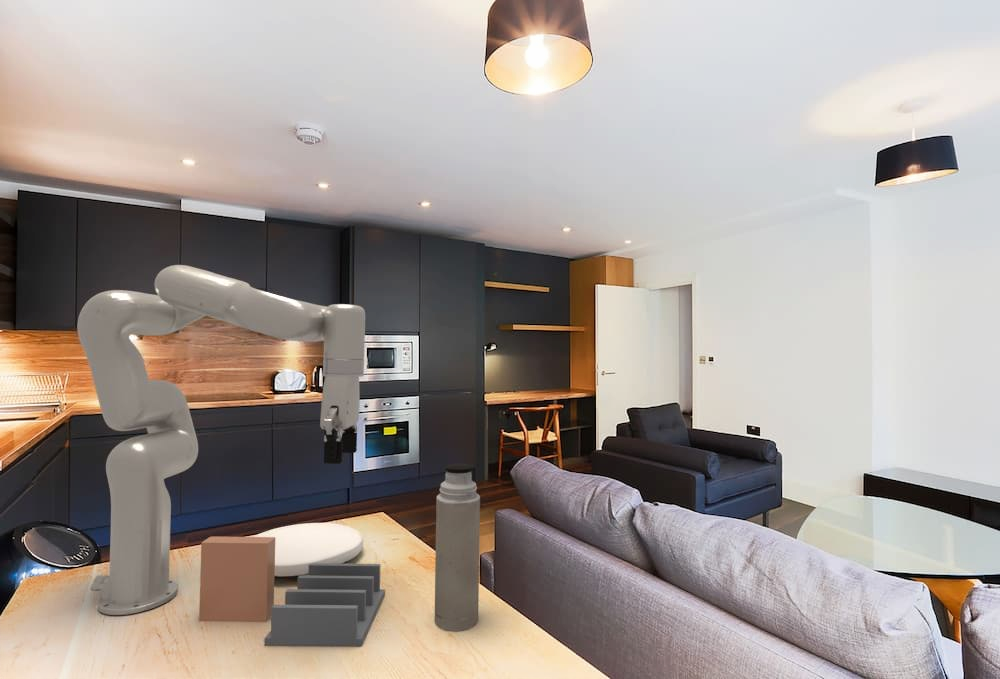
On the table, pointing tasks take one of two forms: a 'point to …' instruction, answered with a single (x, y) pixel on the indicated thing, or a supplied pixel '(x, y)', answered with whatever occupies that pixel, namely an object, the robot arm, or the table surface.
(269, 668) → the table surface
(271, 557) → the tile
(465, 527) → the thermos bottle
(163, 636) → the table surface
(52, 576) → the table surface
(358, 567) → the dish rack
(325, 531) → the plate
